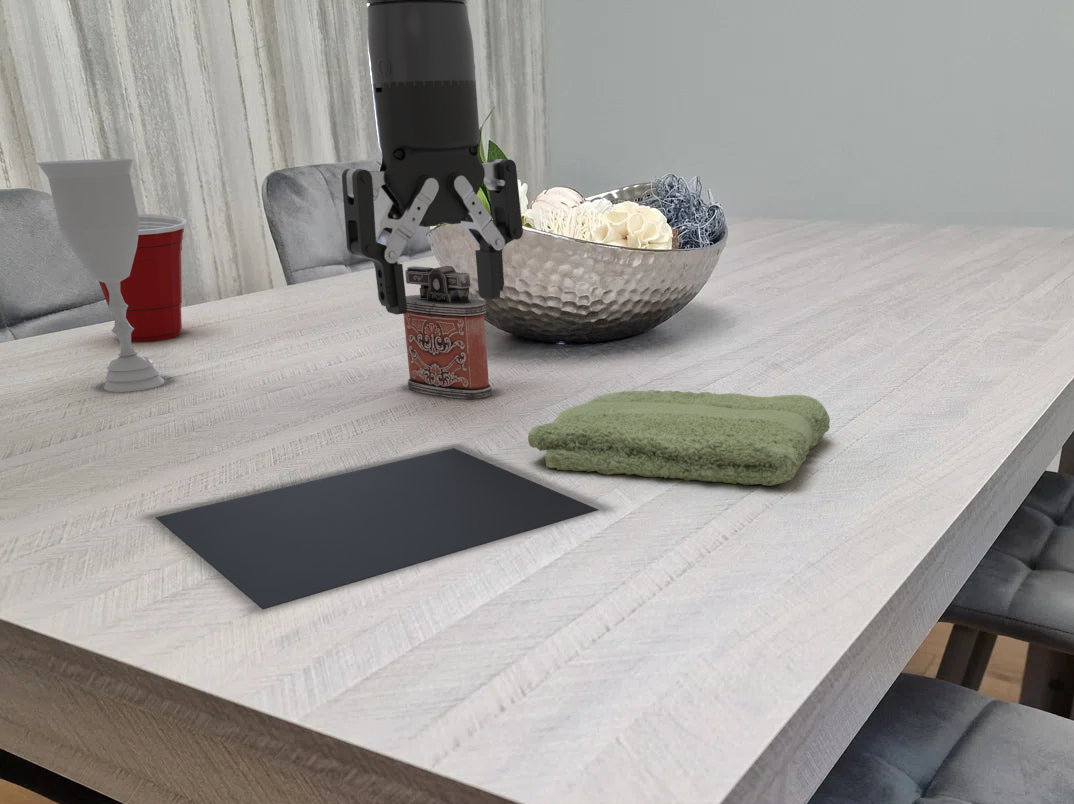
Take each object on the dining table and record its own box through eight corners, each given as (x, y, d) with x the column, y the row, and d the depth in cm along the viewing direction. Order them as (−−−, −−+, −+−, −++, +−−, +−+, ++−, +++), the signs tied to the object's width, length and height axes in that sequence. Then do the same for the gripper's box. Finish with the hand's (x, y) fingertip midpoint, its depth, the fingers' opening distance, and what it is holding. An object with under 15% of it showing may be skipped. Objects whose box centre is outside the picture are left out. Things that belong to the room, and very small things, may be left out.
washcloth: (595, 418, 78) (594, 375, 76) (832, 438, 72) (836, 392, 70) (520, 471, 67) (517, 422, 66) (792, 500, 61) (795, 447, 59)
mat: (263, 612, 49) (262, 608, 49) (155, 520, 60) (155, 517, 60) (598, 512, 60) (598, 509, 60) (454, 450, 71) (454, 447, 71)
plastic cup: (126, 353, 103) (98, 225, 97) (80, 340, 109) (51, 219, 104) (226, 336, 110) (206, 215, 105) (177, 324, 116) (155, 210, 111)
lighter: (501, 394, 85) (493, 267, 80) (474, 404, 82) (464, 273, 78) (426, 383, 89) (415, 261, 85) (399, 391, 86) (386, 266, 82)
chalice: (133, 374, 94) (87, 159, 87) (195, 378, 92) (153, 158, 84) (71, 394, 88) (16, 163, 80) (136, 399, 86) (85, 163, 78)
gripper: (479, 78, 82) (493, 289, 89) (310, 80, 74) (340, 312, 81) (533, 74, 77) (544, 299, 84) (357, 76, 69) (386, 324, 76)
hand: (444, 305), depth 83 cm, fingers open, 8 cm apart
